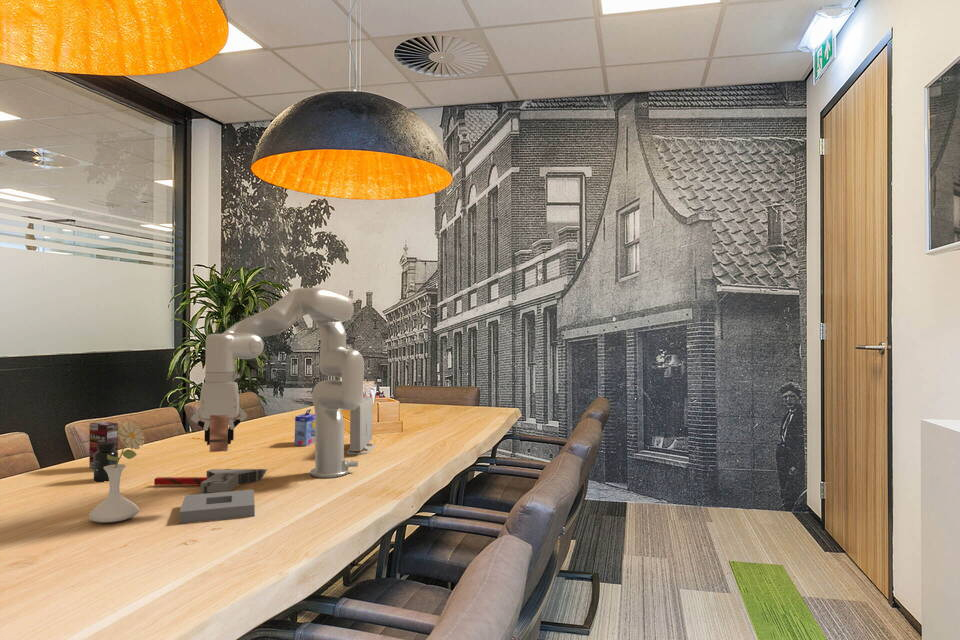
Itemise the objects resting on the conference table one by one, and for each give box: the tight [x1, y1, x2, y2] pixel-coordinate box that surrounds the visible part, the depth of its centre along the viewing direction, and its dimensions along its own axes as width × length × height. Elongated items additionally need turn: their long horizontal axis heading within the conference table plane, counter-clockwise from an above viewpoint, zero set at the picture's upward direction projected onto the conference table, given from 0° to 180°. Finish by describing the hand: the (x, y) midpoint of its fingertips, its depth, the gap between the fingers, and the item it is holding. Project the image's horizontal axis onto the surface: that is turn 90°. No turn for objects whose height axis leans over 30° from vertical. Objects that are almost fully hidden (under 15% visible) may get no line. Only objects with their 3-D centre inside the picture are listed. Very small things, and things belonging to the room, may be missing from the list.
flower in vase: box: [88, 421, 146, 524], centre depth 162 cm, size 13×11×25 cm
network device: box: [345, 396, 376, 456], centre depth 250 cm, size 26×9×20 cm, turn 179°
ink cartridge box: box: [293, 408, 315, 447], centre depth 261 cm, size 10×6×14 cm, turn 171°
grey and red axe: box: [153, 468, 268, 494], centre depth 197 cm, size 24×4×30 cm
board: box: [179, 489, 256, 524], centre depth 169 cm, size 18×16×3 cm
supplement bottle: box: [93, 442, 119, 483], centre depth 201 cm, size 7×7×12 cm
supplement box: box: [88, 421, 119, 469], centre depth 217 cm, size 9×5×16 cm, turn 68°
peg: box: [209, 415, 229, 453], centre depth 173 cm, size 5×5×10 cm
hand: (219, 443), depth 172 cm, fingers closed on peg, 4 cm apart
